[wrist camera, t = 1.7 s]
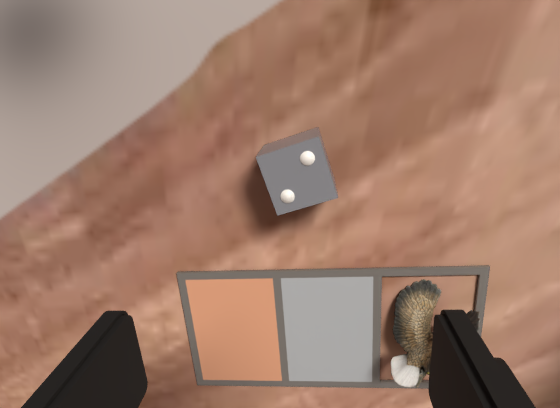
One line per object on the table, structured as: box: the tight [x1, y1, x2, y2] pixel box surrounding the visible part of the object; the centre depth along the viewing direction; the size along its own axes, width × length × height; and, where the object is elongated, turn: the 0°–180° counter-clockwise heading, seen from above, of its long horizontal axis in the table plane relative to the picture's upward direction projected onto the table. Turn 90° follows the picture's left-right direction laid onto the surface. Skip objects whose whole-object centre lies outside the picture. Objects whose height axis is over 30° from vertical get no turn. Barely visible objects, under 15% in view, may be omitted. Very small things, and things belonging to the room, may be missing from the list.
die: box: [256, 127, 338, 216], centre depth 31 cm, size 5×5×5 cm
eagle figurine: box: [391, 279, 480, 388], centre depth 35 cm, size 8×7×9 cm
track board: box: [177, 265, 490, 389], centre depth 38 cm, size 30×15×1 cm, turn 94°
